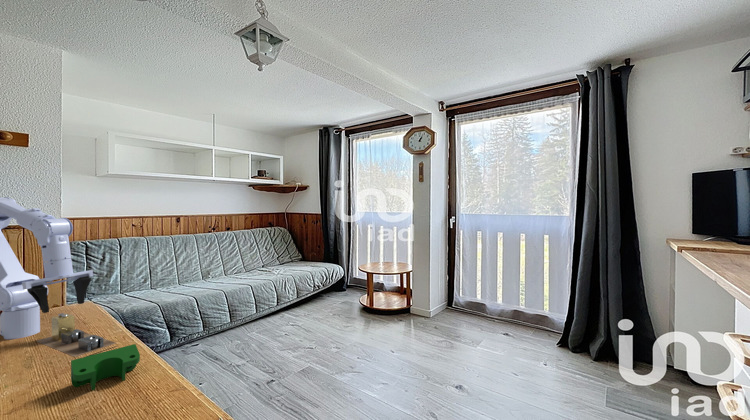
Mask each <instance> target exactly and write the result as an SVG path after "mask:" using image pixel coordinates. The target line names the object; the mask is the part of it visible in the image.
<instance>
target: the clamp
mask: <svg viewBox="0 0 750 420" xmlns="http://www.w3.org/2000/svg"><path fill="white" fill-rule="evenodd" d="M93 354H94V355H92V354H89V355H90V356H89V355H86V356H84V357H79V358H76V359H72V360H70V381H71V385H72V387H75V388H78V387H82V386H85V385H88V384H89V386H90V389H91V391H95V390H96V383H98V382H99V381H102V380H105V379H108V378H111V377H115V376H116V377H119V378H120V379H121V381H126V373H128V372H131V371H132V372H133V370H134V369H136V367H137V364H139V362H140V360H141V359H140V358H141V354H140V351H139V349H138V346H137V344H136V343H134V344H129V345H126V346H122V347H118V348H117V347H116V348H115V349H114V348H113V349H109V350H105V351H102V352H100V353H97V354H95V353H93Z"/></svg>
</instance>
